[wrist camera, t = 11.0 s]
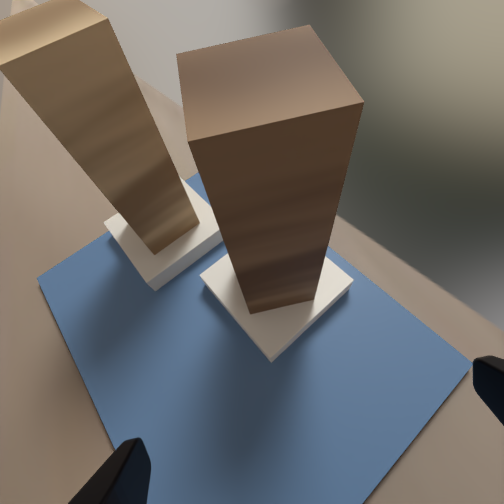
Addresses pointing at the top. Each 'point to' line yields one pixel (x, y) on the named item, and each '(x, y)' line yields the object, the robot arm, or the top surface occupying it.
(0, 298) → the top surface
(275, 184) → the walnut pillar
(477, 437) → the top surface
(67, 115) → the oak pillar
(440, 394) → the mat
